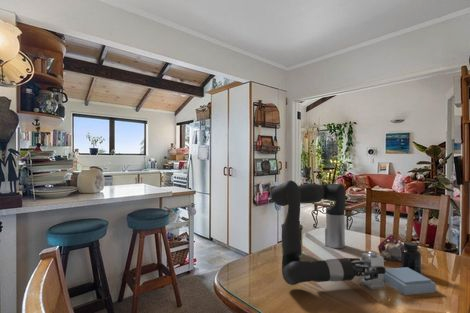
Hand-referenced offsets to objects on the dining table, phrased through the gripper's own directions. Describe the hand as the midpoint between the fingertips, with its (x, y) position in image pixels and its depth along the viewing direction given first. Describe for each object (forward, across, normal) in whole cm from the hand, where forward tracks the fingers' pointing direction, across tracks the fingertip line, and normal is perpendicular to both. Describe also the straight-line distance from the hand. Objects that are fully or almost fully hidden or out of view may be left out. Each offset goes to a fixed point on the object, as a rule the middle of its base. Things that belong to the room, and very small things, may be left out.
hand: (379, 266), depth 94 cm
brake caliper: (+22, +20, +7) cm, 31 cm away
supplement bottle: (+19, +6, +7) cm, 21 cm away
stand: (+9, -2, +6) cm, 12 cm away
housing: (-3, 0, +6) cm, 7 cm away
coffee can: (-22, +33, +7) cm, 40 cm away
